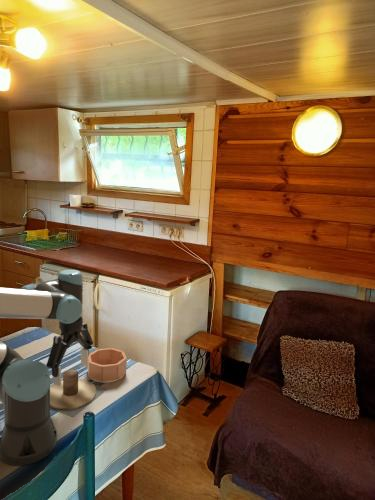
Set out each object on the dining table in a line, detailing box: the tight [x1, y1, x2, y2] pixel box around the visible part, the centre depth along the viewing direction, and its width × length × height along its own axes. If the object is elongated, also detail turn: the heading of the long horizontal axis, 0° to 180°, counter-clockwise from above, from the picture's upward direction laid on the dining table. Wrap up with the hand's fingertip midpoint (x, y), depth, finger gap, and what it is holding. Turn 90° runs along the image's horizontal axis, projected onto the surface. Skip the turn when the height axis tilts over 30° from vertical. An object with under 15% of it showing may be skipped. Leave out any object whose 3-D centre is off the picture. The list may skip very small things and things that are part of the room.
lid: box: [50, 369, 96, 410], centre depth 127 cm, size 17×17×8 cm
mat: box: [50, 378, 108, 418], centre depth 128 cm, size 18×18×1 cm
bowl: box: [86, 347, 128, 384], centre depth 143 cm, size 14×14×7 cm
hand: (71, 374), depth 127 cm, fingers open, 13 cm apart
